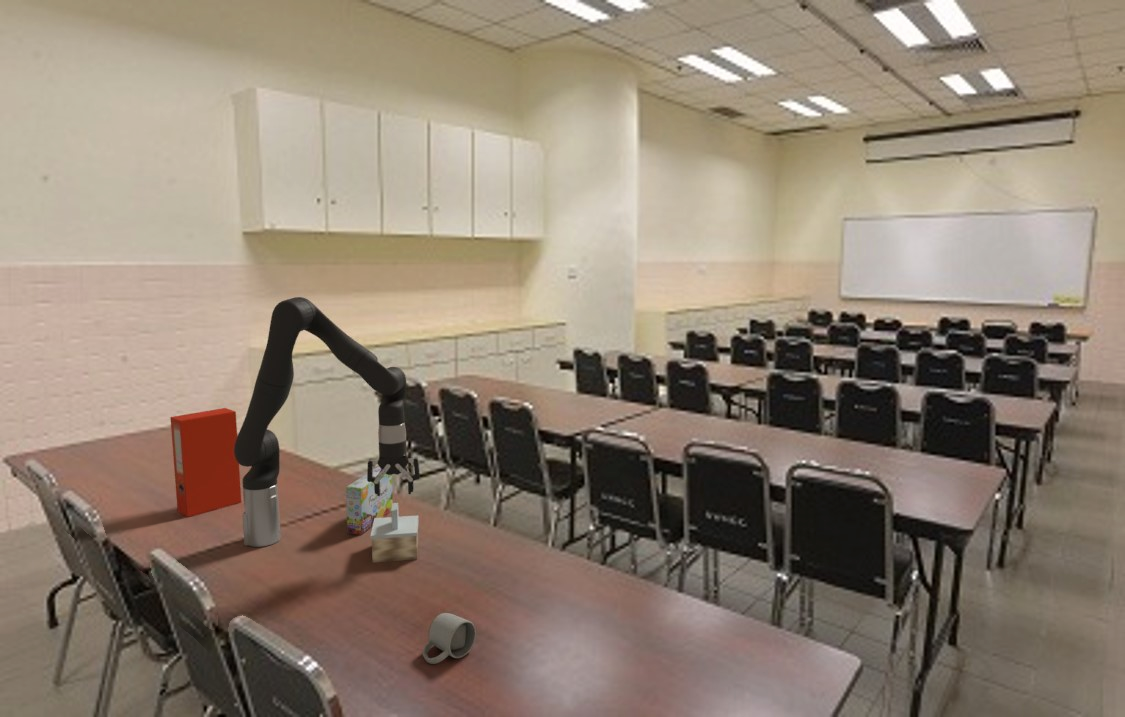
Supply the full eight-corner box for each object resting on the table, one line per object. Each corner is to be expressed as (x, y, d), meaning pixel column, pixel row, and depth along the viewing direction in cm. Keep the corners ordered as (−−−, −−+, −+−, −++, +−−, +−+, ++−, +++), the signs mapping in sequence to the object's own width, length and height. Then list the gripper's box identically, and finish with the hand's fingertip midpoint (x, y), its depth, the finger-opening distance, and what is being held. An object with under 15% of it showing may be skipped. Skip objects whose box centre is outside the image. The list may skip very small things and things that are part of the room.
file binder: (241, 502, 228) (235, 411, 223) (188, 517, 215) (180, 420, 210) (230, 497, 233) (224, 407, 228) (177, 511, 220) (169, 416, 215)
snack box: (363, 535, 203) (361, 488, 201) (346, 534, 204) (344, 486, 202) (394, 510, 224) (392, 466, 221) (378, 508, 225) (377, 465, 222)
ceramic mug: (451, 634, 151) (450, 603, 149) (477, 648, 145) (476, 615, 144) (414, 657, 142) (412, 624, 141) (439, 672, 137) (438, 638, 136)
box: (372, 562, 185) (371, 538, 184) (376, 544, 197) (375, 521, 196) (416, 559, 187) (416, 535, 186) (417, 541, 199) (417, 519, 198)
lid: (370, 543, 184) (369, 516, 183) (374, 525, 196) (373, 500, 195) (417, 540, 186) (416, 513, 185) (418, 522, 199) (418, 497, 197)
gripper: (364, 443, 182) (367, 500, 185) (418, 441, 185) (419, 497, 187) (367, 436, 189) (369, 491, 192) (418, 434, 192) (420, 488, 194)
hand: (394, 494), depth 189 cm, fingers open, 8 cm apart
